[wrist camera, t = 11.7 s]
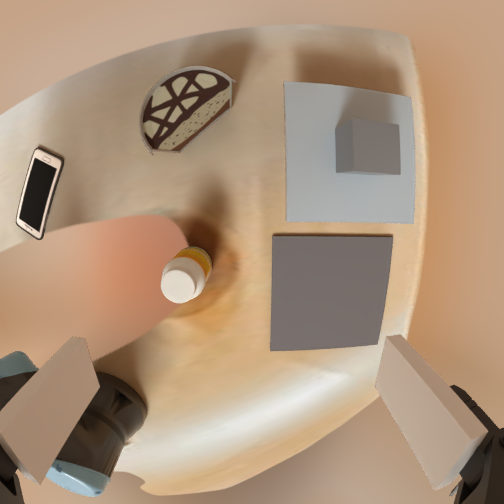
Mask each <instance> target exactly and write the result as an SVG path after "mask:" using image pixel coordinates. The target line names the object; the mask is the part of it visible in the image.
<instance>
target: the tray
mask: <svg viewBox="0 0 504 504" xmlns="http://www.w3.org/2000/svg"><path fill="white" fill-rule="evenodd" d="M392 244H393V237H369V236H272V303H271V343H270V351H294V350H315V349H331V348H345V347H356V346H367V345H376V344H378V339H379V334H380V329H381V324H382V318H383V313H384V307H385V301H386V294H387V287H388V280H389V272H390V264H391V255H392Z"/></svg>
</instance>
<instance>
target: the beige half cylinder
mask: <svg viewBox="0 0 504 504" xmlns="http://www.w3.org/2000/svg"><path fill="white" fill-rule="evenodd" d="M233 81H234V82H235V83H237V82H236V81H235V80H234V79H233V78H231V77H230V76H229V75H228V74H226V73H224V72H222V71H220V70H218V69H215V68H211V67H206V66H191V67H185V68H181V69H178V70H175V71H173V72H171V73H169V74H167V75H166V76H164V77H163V78H162V79H160V80H159V81H158V82H157V83H156V84H155V85H154V86H153V87H152V88H151V90H150V91H149V92H148V94H147V96H146V98H145V100H144V102H143V105H142V107H141V112H140V122H139V125H140V133H141V136H142V139H143V142H144V144H145V146H146V147H147V149H148V150H149V151H150V153H151V154H152V155H154V154H153V153H152V151H161V152H175V153H180V152H181V151H182V150H184V149H185V148H186V147H187V146H188V145H189V144H190V143H191V142H192V141H193V140H195V139H196V138H197V137H198V136H199V135H200V134H201V133H202V132H204V131H205V130H206V129H207V128H208V127H209V126H211V125H212V124H213V123H214V122H215V121H217V120H218V119H219V118H220V117H221V116H223V115H224V114H225V113H226V112H227V111H229V110H230V109H231V108H232V82H233Z"/></svg>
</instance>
